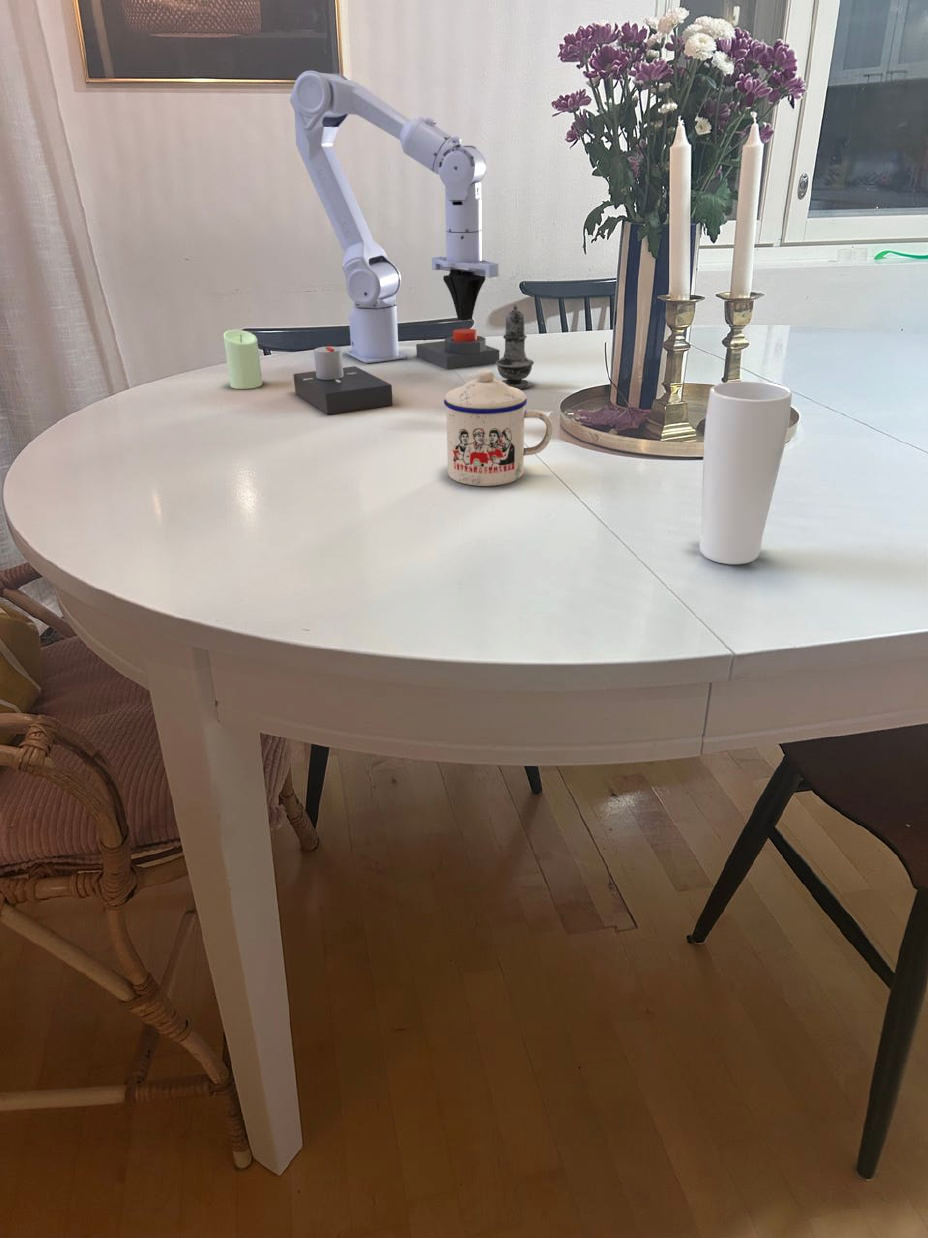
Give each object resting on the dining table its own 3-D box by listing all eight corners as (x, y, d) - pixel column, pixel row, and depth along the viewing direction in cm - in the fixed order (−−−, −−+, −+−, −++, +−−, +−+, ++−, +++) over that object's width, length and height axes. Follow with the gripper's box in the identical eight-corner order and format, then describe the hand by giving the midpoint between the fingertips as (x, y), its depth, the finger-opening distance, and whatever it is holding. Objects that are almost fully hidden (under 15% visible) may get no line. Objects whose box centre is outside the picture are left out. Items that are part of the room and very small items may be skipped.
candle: (269, 384, 142) (262, 331, 139) (242, 391, 139) (235, 336, 135) (250, 380, 145) (243, 327, 142) (223, 386, 142) (216, 332, 138)
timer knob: (312, 375, 134) (309, 346, 132) (337, 372, 136) (335, 343, 134) (321, 381, 131) (319, 350, 129) (347, 377, 133) (345, 347, 131)
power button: (449, 340, 153) (449, 330, 153) (469, 338, 155) (469, 327, 154) (460, 344, 150) (460, 333, 149) (481, 342, 152) (481, 331, 151)
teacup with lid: (443, 487, 99) (440, 381, 94) (447, 461, 107) (445, 362, 102) (552, 488, 99) (556, 380, 93) (549, 461, 107) (552, 361, 101)
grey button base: (416, 356, 159) (415, 333, 157) (466, 350, 163) (466, 327, 161) (448, 370, 150) (448, 345, 148) (500, 363, 154) (501, 339, 152)
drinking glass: (681, 542, 85) (698, 382, 78) (751, 538, 86) (774, 379, 79) (704, 572, 79) (724, 401, 72) (779, 568, 80) (807, 398, 73)
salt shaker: (534, 381, 142) (535, 301, 136) (532, 390, 137) (534, 307, 131) (496, 380, 143) (496, 301, 137) (494, 389, 137) (494, 307, 132)
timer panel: (294, 393, 137) (292, 372, 136) (356, 385, 141) (355, 364, 140) (326, 415, 126) (324, 392, 125) (392, 405, 130) (391, 383, 129)
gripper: (416, 230, 147) (419, 316, 154) (474, 235, 137) (475, 328, 144) (449, 227, 151) (451, 311, 158) (508, 232, 141) (507, 322, 148)
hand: (465, 319), depth 151 cm, fingers closed
